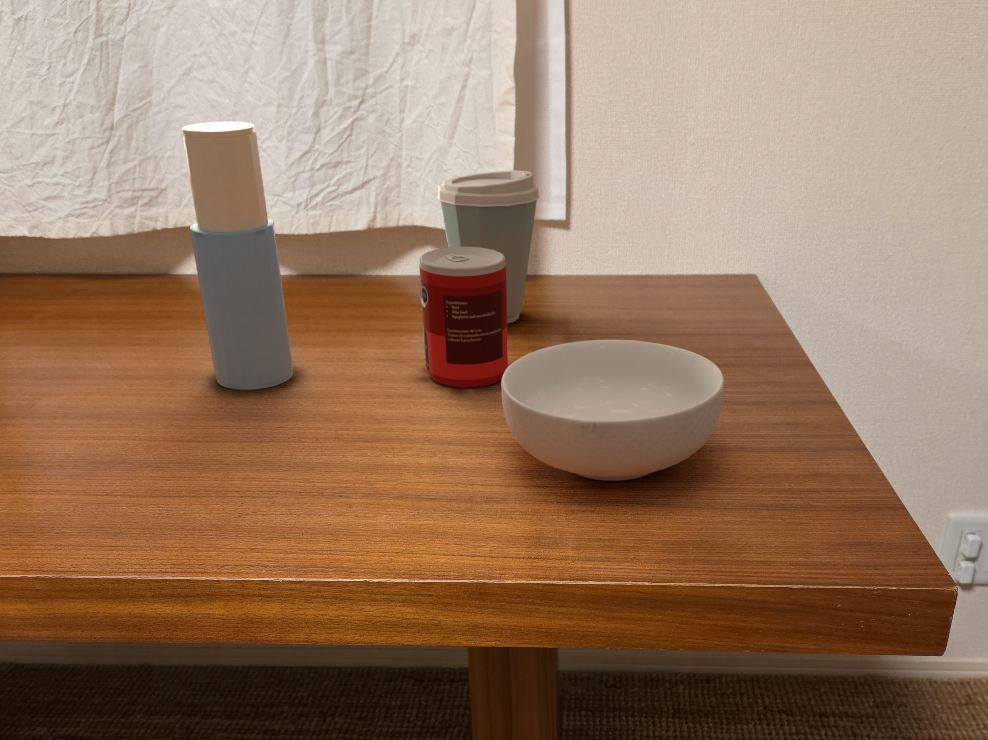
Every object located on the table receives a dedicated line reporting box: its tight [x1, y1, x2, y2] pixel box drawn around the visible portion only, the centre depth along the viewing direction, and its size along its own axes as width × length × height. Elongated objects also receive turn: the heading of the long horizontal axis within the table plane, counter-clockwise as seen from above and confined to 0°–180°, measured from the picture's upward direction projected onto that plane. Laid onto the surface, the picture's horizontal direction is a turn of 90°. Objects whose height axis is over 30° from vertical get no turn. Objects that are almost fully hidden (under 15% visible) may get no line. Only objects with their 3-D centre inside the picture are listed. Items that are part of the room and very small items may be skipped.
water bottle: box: [189, 217, 294, 391], centre depth 91 cm, size 7×7×18 cm
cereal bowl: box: [500, 339, 725, 482], centre depth 77 cm, size 17×17×7 cm
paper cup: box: [181, 121, 269, 232], centre depth 86 cm, size 6×6×8 cm
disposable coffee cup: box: [436, 170, 540, 324], centre depth 107 cm, size 11×11×15 cm
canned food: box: [418, 247, 509, 389], centre depth 93 cm, size 8×8×11 cm
